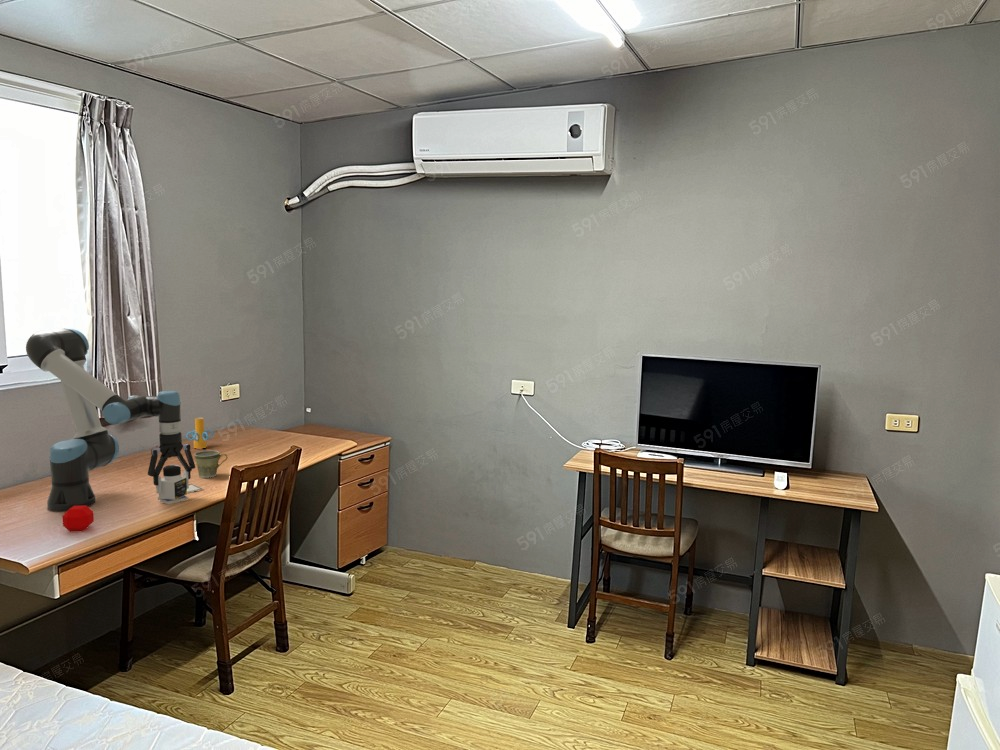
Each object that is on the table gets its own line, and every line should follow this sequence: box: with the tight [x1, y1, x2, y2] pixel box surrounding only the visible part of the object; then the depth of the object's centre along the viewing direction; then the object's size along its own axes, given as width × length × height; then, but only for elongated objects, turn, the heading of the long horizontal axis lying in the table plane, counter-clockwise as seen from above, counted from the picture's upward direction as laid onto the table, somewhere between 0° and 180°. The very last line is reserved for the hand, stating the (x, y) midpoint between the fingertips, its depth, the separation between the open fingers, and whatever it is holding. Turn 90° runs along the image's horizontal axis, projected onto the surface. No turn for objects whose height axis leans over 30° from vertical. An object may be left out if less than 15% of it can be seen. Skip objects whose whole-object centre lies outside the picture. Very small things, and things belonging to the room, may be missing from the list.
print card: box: [187, 483, 204, 494], centre depth 282 cm, size 10×10×1 cm
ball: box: [62, 505, 95, 533], centre depth 236 cm, size 8×8×8 cm
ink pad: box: [157, 495, 189, 505], centre depth 270 cm, size 8×8×1 cm
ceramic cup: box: [193, 449, 228, 479], centre depth 302 cm, size 13×10×10 cm
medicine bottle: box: [158, 464, 188, 500], centre depth 269 cm, size 7×7×12 cm
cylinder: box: [186, 417, 214, 449], centre depth 348 cm, size 12×10×15 cm
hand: (172, 490), depth 269 cm, fingers closed on medicine bottle, 9 cm apart
